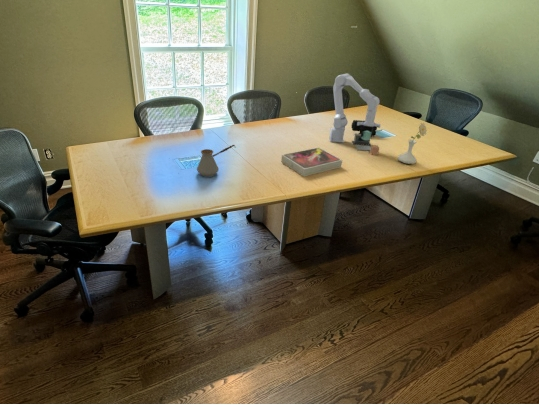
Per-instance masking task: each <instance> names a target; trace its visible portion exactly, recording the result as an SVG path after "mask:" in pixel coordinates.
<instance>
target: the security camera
mask: <svg viewBox="0 0 539 405" xmlns="http://www.w3.org/2000/svg"><path fill="white" fill-rule="evenodd" d="M357 122H365V120H357V119H353V120H352V122H351V125H350V126H351V128H350V129H351V130H352V131H353V132H358V134H361V129H360V125H359V126H357ZM363 131H369V132H371V131H372V127H370V126H364V130H363ZM376 133H377V130H376V131H375V132H374V134H373V136H372V137H375V136H376V135H377V134H376Z"/></svg>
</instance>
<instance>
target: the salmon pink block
mask: <svg viewBox="0 0 539 405" xmlns="http://www.w3.org/2000/svg"><path fill="white" fill-rule="evenodd" d="M370 147H371V150H370V151H369V153H370V155H371V156H373V155H374V156H378V155H379V151H380V147H379V145H378V144H377V145H376V144H375V145H373V144H371V146H370Z"/></svg>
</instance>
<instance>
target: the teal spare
mask: <svg viewBox="0 0 539 405" xmlns="http://www.w3.org/2000/svg"><path fill="white" fill-rule="evenodd" d="M362 139H363V140H370V141H371V132H369V131H363V135H362Z"/></svg>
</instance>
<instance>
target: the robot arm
mask: <svg viewBox="0 0 539 405" xmlns="http://www.w3.org/2000/svg"><path fill="white" fill-rule="evenodd" d="M345 86H350V87H351V88H352V89H353V90H354V91H356V92H357V93H359V97H360V98H361V99H362V100H363V101H364V103H365V102H366V105H367V110H366V114H365V120H364V121H365V122H357V126H359V125H360V129H361V137H362V135H363V130H364V126H370V127H372V131H371V138H372V137H374V136H373V134H374V132H375V131H376V132H377V130H378V129H380V128H381V124H380V123H376V122H375V119H376V114H377V110H378V106H379V105H380V102H381V101H380V98H379V97H378V96H375V95H374V94H372V93H371V92H370V89H367V88H363V87H362V86H361V85H360V84H359V83H358V82H357V81H356V80H355V79H354V77H353V75H351V74H350V73H347V72H346V73H343V74H339V75H337V76H336V77H335V79H334V84H333V86H332V91H333V100H334V109H335V115H334V117H333V123H332V125H333V127H331V128H330V132H329V141H330V142H332V143H345V141H344V135H345V130H346V126H347V125H348V119H347V117H346V116H347V115H346V114H345V112H344V111H345V110H344V102H343V101H344V100H343V89H344V87H345ZM371 138H370V139H371Z"/></svg>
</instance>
